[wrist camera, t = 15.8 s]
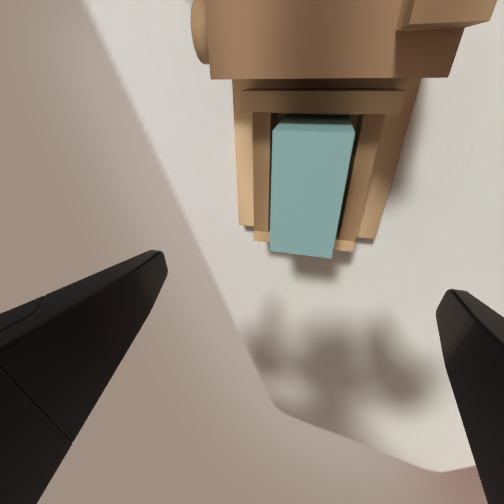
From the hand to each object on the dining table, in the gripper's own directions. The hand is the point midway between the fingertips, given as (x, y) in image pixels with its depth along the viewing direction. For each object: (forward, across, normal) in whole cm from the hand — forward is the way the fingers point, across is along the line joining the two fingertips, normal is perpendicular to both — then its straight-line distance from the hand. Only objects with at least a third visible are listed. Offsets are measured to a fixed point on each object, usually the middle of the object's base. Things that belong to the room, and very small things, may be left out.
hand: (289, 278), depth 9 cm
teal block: (+11, 0, 0) cm, 11 cm away
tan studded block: (+11, 0, -7) cm, 13 cm away
